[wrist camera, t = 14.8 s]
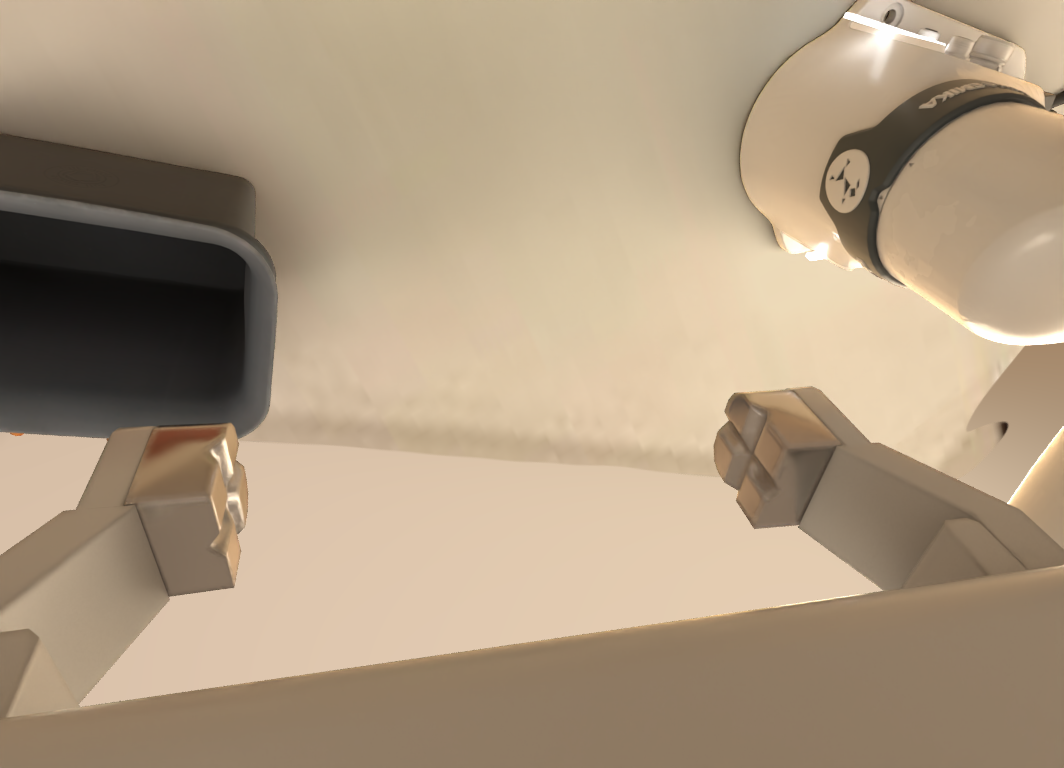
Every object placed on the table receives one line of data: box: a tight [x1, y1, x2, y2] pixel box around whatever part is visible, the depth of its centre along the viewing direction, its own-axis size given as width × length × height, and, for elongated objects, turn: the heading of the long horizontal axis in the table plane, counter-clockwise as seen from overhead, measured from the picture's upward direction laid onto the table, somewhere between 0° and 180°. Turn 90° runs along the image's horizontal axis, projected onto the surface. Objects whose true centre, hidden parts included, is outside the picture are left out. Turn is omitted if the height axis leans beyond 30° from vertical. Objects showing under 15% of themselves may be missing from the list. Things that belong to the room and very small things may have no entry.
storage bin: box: [0, 134, 278, 441], centre depth 37 cm, size 21×16×14 cm
